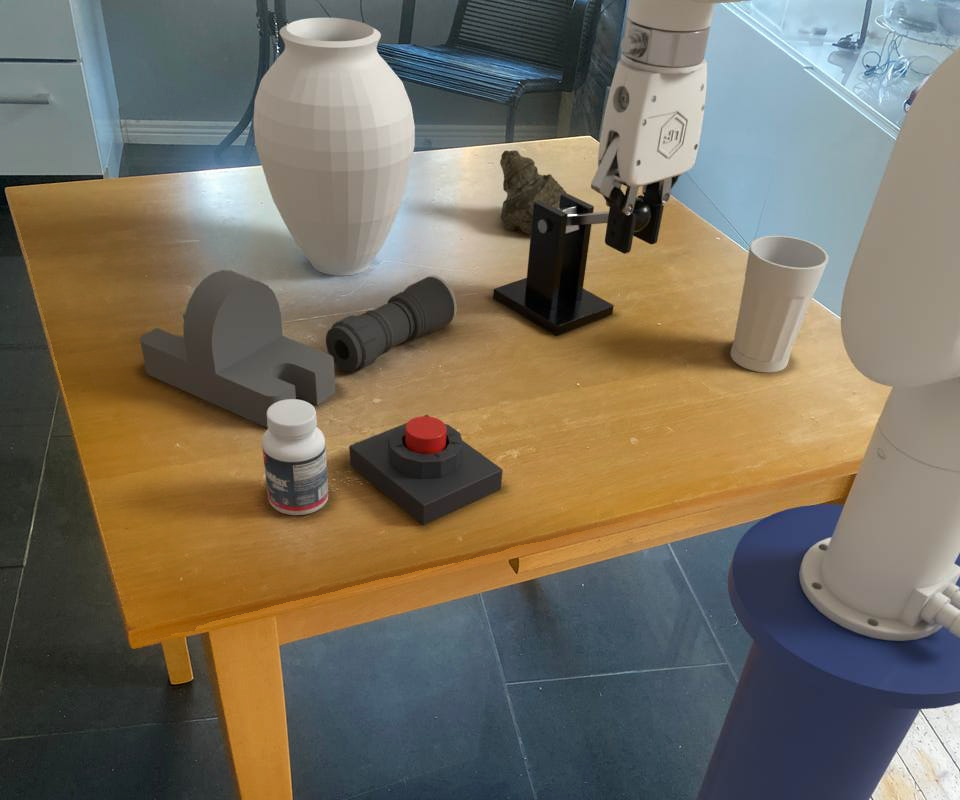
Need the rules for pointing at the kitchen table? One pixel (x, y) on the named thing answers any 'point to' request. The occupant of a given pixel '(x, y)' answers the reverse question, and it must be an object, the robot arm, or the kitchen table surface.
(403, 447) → the button block
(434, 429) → the button
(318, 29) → the vase
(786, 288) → the cup
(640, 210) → the lever
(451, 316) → the flashlight
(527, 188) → the brown rock
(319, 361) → the bracket
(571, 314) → the bracket
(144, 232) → the kitchen table surface
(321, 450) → the pill bottle
